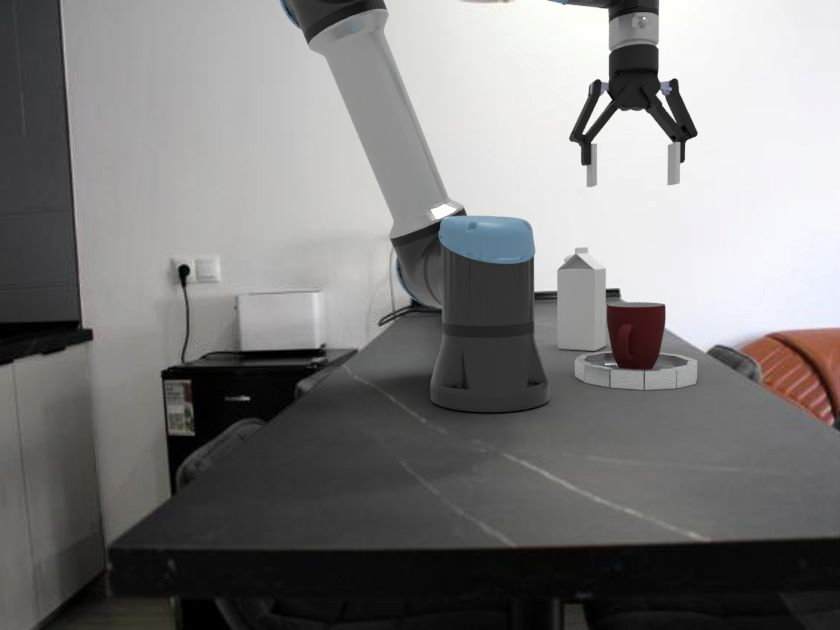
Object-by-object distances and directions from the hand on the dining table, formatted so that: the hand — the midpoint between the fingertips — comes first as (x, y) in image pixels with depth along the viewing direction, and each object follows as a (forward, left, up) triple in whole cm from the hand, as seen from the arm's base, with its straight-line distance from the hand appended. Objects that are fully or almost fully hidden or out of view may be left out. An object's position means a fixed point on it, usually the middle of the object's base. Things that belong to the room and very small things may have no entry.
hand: (632, 185), depth 100 cm
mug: (-5, -13, -28) cm, 32 cm away
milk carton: (-4, +15, -29) cm, 33 cm away
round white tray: (-5, -13, -29) cm, 32 cm away
